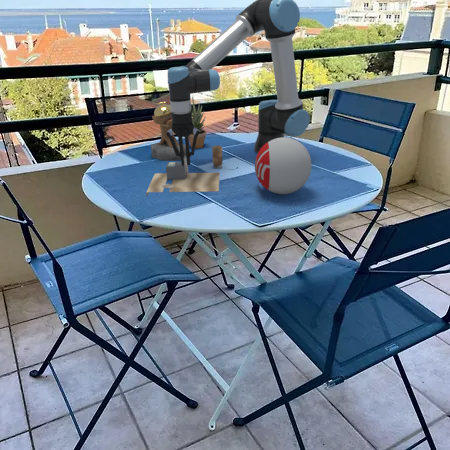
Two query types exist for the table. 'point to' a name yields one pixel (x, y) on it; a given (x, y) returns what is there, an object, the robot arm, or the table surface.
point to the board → (186, 183)
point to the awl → (217, 156)
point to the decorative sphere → (283, 165)
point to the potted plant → (197, 127)
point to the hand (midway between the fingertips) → (186, 172)
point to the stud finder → (175, 171)
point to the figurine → (164, 135)
